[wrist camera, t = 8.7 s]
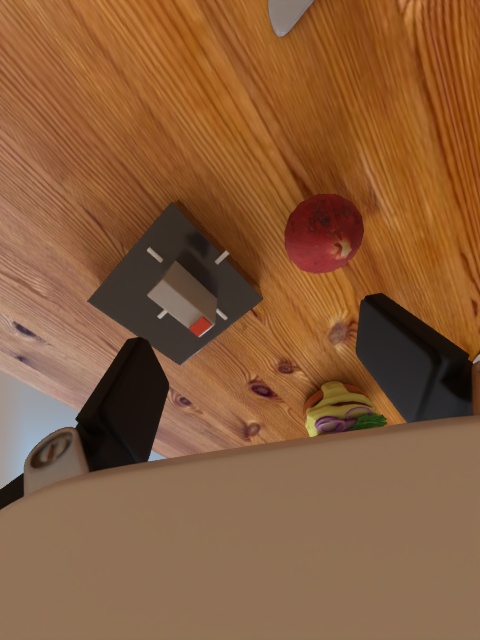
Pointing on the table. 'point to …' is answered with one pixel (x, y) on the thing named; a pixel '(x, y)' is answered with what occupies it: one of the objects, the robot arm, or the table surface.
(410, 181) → the table surface
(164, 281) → the knob
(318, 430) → the cheeseburger
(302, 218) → the onion
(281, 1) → the spoon
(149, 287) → the dial base
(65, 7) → the table surface
